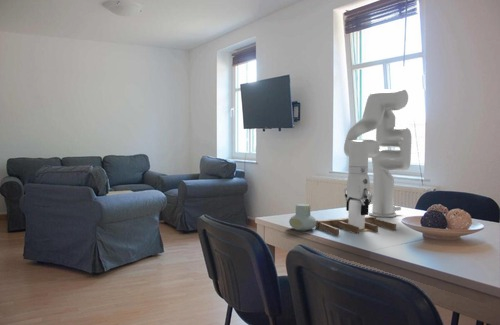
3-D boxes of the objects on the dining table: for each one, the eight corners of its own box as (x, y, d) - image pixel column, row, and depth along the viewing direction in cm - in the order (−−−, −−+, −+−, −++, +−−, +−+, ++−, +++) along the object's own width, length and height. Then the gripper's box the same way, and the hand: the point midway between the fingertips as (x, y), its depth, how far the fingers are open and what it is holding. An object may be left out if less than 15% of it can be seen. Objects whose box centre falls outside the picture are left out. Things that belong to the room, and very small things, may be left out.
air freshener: (319, 230, 162) (320, 205, 162) (306, 233, 157) (306, 207, 156) (299, 225, 170) (299, 202, 170) (285, 228, 165) (286, 204, 164)
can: (364, 227, 167) (365, 198, 166) (364, 230, 161) (365, 200, 160) (348, 226, 169) (349, 197, 168) (347, 229, 163) (348, 199, 162)
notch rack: (373, 223, 177) (373, 216, 177) (397, 230, 163) (397, 223, 163) (315, 227, 167) (315, 220, 167) (335, 235, 153) (335, 228, 153)
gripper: (379, 172, 157) (378, 216, 158) (353, 169, 173) (352, 208, 174) (363, 172, 154) (362, 217, 155) (338, 169, 170) (337, 209, 171)
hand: (357, 212), depth 164 cm, fingers open, 9 cm apart
